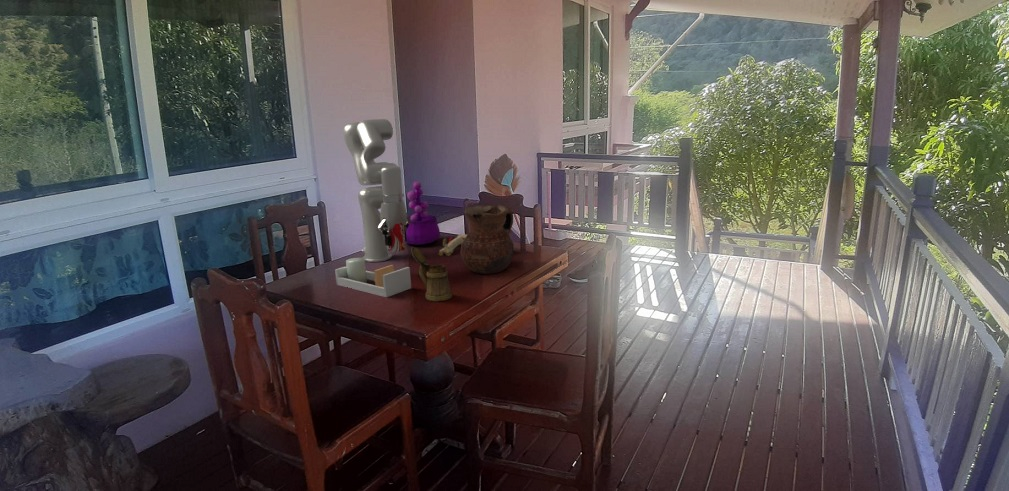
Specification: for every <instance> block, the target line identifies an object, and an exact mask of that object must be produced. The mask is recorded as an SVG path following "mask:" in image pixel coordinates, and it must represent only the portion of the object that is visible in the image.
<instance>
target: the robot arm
mask: <svg viewBox="0 0 1009 491" xmlns="http://www.w3.org/2000/svg"><path fill="white" fill-rule="evenodd" d="M393 135H394V127H393V125H392V123H391V122H390V120H388V119H385V118H379V119H377V118H376V119H375V118H373V119H365V120H364V119H363V120H361V121H354V122H350V123H348V124H346V125H345V126H343V139H344V143H345V144H346V145H345V146H346V147H347V148H348V151H349V152H350V155H351V157H352V159H353V164H354V170H355V174H356V177H357V181H358V183H359V184H360V185H362V186H368V187H365V188H362V189H360V190H359V192H358V195H357V198H358V202H359V206H360V211H361V216H362V217H361V218H362V226H363V227H362V228H363V237H364V246H365V247H363V248H362V249H361V252H362V253H364V255H363V256H362V258H364V259H365V262H369V263H378V262H386V261H388V260H391V259H392V257H393V255H392V253H391V252H389V251H388V248H387V246H392V239H391V236H390V233H391V229H393V227H394V226H395V223H399V222H401V221H402V223H403V225H404V232H405V243H406V241H407V237H406V231H407V228H408V226H409V224H410V221H411V219H409V218H408V217H409V216H407V210H406V209H407V208H406V204H405V201H404V196H405V195H404V192H403V182H402V181H403V180H402V170H401V167H400V166H398V165H397V164H396V163H395V162H386V161H383V162H375V159H377V158H379V157H381V156H382V155H383V154H384V153H385V151H386V148H387V147H386V143H385V142H384V141H389V140H390V139H392V138H393ZM377 185H378V186H377ZM379 209H380V211H379ZM387 227H388V228H387ZM387 229H388V232H387Z"/></svg>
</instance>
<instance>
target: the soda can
mask: <svg viewBox="0 0 1009 491" xmlns="http://www.w3.org/2000/svg"><path fill="white" fill-rule="evenodd" d="M387 228H388V227H387ZM387 232H388V229H387ZM390 236H391V239H392V246H387V248H388V252H389V253H391V254H392V253H393V254H398V253H402V252H404V251H405V249H406V242H405V232H404V225H403V223H402V221H401V222H399V223H395V226H394V227H393V229H391V233H390Z"/></svg>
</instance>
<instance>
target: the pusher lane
mask: <svg viewBox="0 0 1009 491" xmlns="http://www.w3.org/2000/svg"><path fill="white" fill-rule="evenodd" d="M334 272H335V273H334V274H335V282H336V286H340V287H344V288H347V287H348V288H349V289H351V288H352V290H355V291H361V292H364V293H369V294H371V295H374V296H380V297H384V298H388V297H391V296H394V295H396V294H399V293H402V292H405V291H407V290H410V289H412V282H411V268H410V267H409V266H406V267H403V268H401V269H397V270H394V272H391V273H388V274H385V275H383V286H384V287H380V286H375V285H374V284H371V283H368V282H367V283H363V282H359V281H355V280H350V279H348V276H347V267H346V266H341V267H339V268H335V269H334ZM366 276H367V280H369V281H374V282H375V275H374V271H371V270H370V271H369V270H366Z"/></svg>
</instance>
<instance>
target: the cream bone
mask: <svg viewBox="0 0 1009 491" xmlns="http://www.w3.org/2000/svg"><path fill="white" fill-rule="evenodd" d="M467 235H468V234H461V233H460V234H458V235H457V236H456V237H455V238H454V235H453V236H451V237H450V238H448V240H447V238H443V240H442V246H443V247H442V248H441V249H439V252H438V255H439V256H443V255H444V254H445V256H447V257H450V256H452V254H453V253H454V249H455V248H456V247H458V246H460V245H462V243H463V241H464V239H465V238H466V236H467ZM453 238H454V239H453Z"/></svg>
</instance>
